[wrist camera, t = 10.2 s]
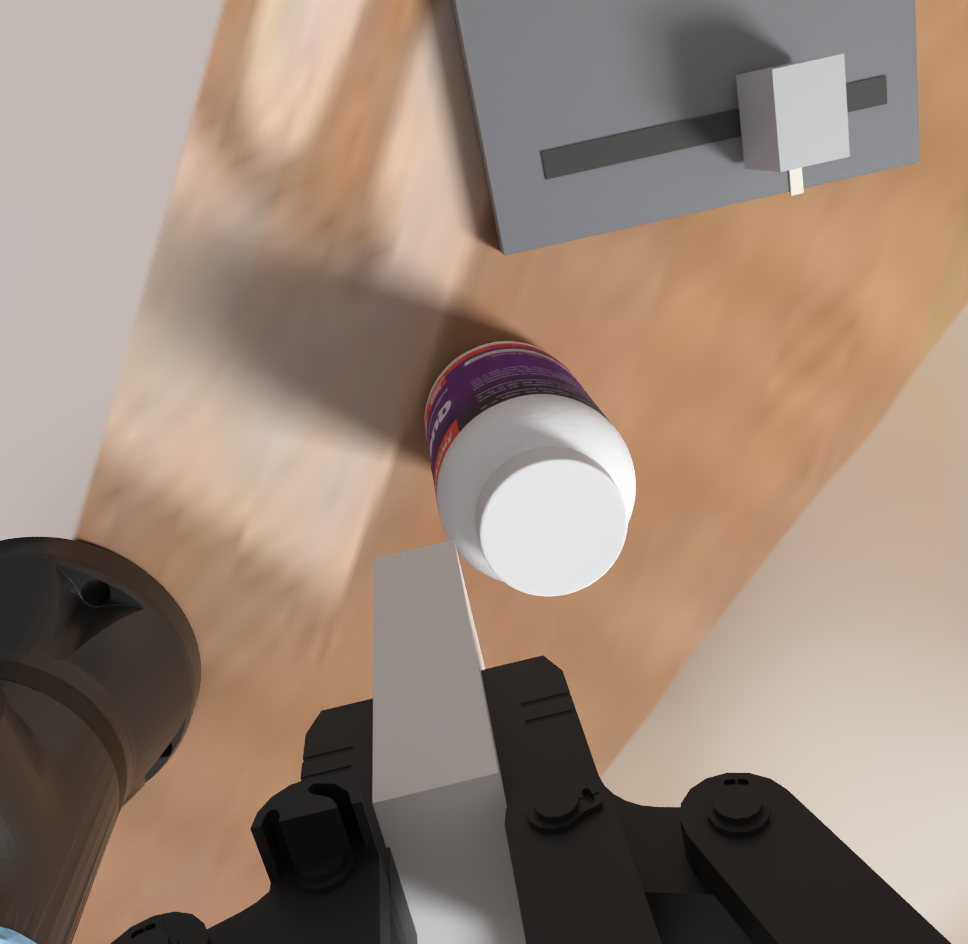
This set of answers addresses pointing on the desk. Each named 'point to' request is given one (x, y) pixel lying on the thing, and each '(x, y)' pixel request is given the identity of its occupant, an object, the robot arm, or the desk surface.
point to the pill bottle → (527, 470)
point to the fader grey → (794, 114)
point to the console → (664, 103)
